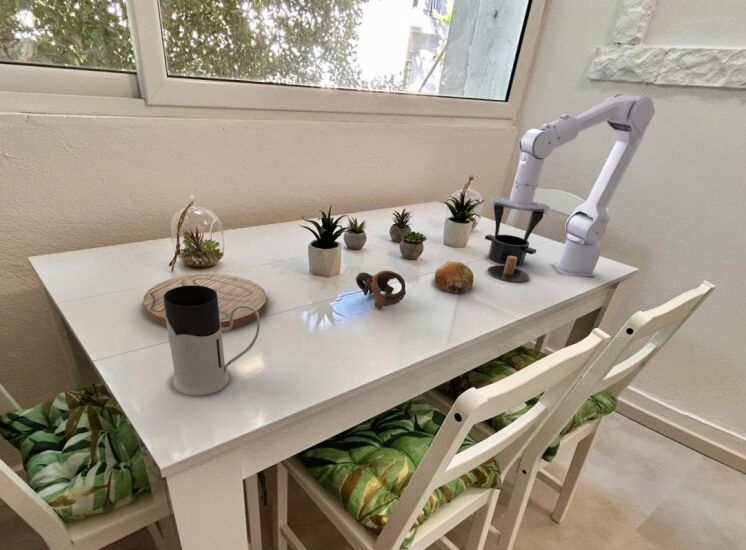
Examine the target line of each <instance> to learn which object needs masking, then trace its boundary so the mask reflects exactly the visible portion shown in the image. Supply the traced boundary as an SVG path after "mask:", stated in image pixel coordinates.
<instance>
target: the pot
mask: <svg viewBox="0 0 746 550" xmlns="http://www.w3.org/2000/svg"><path fill="white" fill-rule="evenodd" d="M484 240H487V241H490V242H491V243H490V246H489V250H488V254H487V258H488V259H489V261H491V262H493V263H496V264H499V265H502V266H505V265H506V261H507V258H508V256H515V257H517V258H518V259H517V262H516V265H515V267H519V266H522V265H524V263H525V260H526V256H527V254H529V255H534V254H536V253H537V249H536V248H533V247H529V246H530V242H529V241H528V240H527V241H524V237H519V236H516V235H510V234H498V236H495V235H493V234H486V235H485V236H484Z"/></svg>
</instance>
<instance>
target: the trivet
mask: <svg viewBox="0 0 746 550" xmlns="http://www.w3.org/2000/svg"><path fill="white" fill-rule="evenodd" d="M190 285H196V286H204V287H208V288H211V289H213V290H214V291H216V293H217V297H218V308H219V319H220V323H221V327H222V328H226V327H229V326H230V315H231V312H232V310H233V309H234V308H235V307H236V306H238V305H242V304H244V305H249V306H252V307H253V308H255V309H256V310H257V312H258V314H259V318H260V317H262V315H263V314H264V312H266V310H267V305H268V303H267V302H268V298H267V293H266V290H265V289H264V288H263V287H262V286H261V285H260V284H258V283H256V282H254V281H252V280H250V279H247V278H244V277H241V276H237V275H231V274H224V273H222V274H221V273H195V274H188V275H181V276H177V277H173V278H169V279H166V280H164V281H161V282H159V283H157V284H155V285H153V286H152V287H150V288H149V289H148V290H147V291H146V293H145V294H144V295H143V301H142V304H143V308H144V309H143V310H144V312H145V315H146V316H147V317H148V319H149V320H151V321H152V322H154V324H156V325H159V326H161V327H164V328H167V324H166V318H165V303H164V294H165V293H166V292H167V291H169V290H171V289H173V288H177V287H181V286H190ZM256 320H257V316H256V314H255V312H254V311H252V310H251V309H248V308H239V309H238V310H236V311H235V312H234V314H233V325H232V328H231V329H230V330H233V329H237V328H240V327H242V326H243V327H244V326H245V325H248V324H251V323H252V322H254V321H256Z"/></svg>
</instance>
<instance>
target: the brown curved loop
mask: <svg viewBox="0 0 746 550" xmlns="http://www.w3.org/2000/svg"><path fill="white" fill-rule="evenodd" d="M394 279H396V280H397V281H398V283H399V284H400V285H401V288H400V290H399V291H398V292H395V293H393V292H394V290H395V288H394V287H393V286H392V285H390V284H388V283H389V281H390V280H394ZM355 282H356V285H357V287H358V288H359V289H360V290H361V291H362V293H363V296H367V295H368V294H369V295H370V296H371V295H372V294H373V295H374V296H375V298H376V301H375V302H374V307H375V308H377V309H378V310H381V309H382V308H383V307H391V306H393V305H397V304H399V303H400V301H402V300H403V299H404V298H405V296H406V295H407V290H406V286H407V285H406V282H405V279H404V278H403V276H401V275H400V274H399V273H397V272H395V271H392V270H381V271H379V272H378V273H376V274H374V275H372V274H370V273H368V272H359V273H358V274H357V276H356V277H355ZM381 292H383V293H385V294H384V295H383V294H382V293H381Z"/></svg>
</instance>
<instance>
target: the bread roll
mask: <svg viewBox="0 0 746 550" xmlns="http://www.w3.org/2000/svg"><path fill="white" fill-rule="evenodd" d="M474 278H475V277H474V273H473V270H471V268H470V267H469V266H468V265H466V264H464V263H463V262H460V261H451V260H450V261H449V260H448V261H446V262H445V263H444V264H442V265H441V266H439V267H438V268H436V270H435V274H434V286H435V287H436V288H437V289H438V290H440V291H442V292H447V293H449V294H450V293H451V294H452V293H453V294H463V293H465V292H467V291H468V290H471V289H472V288H473V285H474V280H475V279H474Z"/></svg>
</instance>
